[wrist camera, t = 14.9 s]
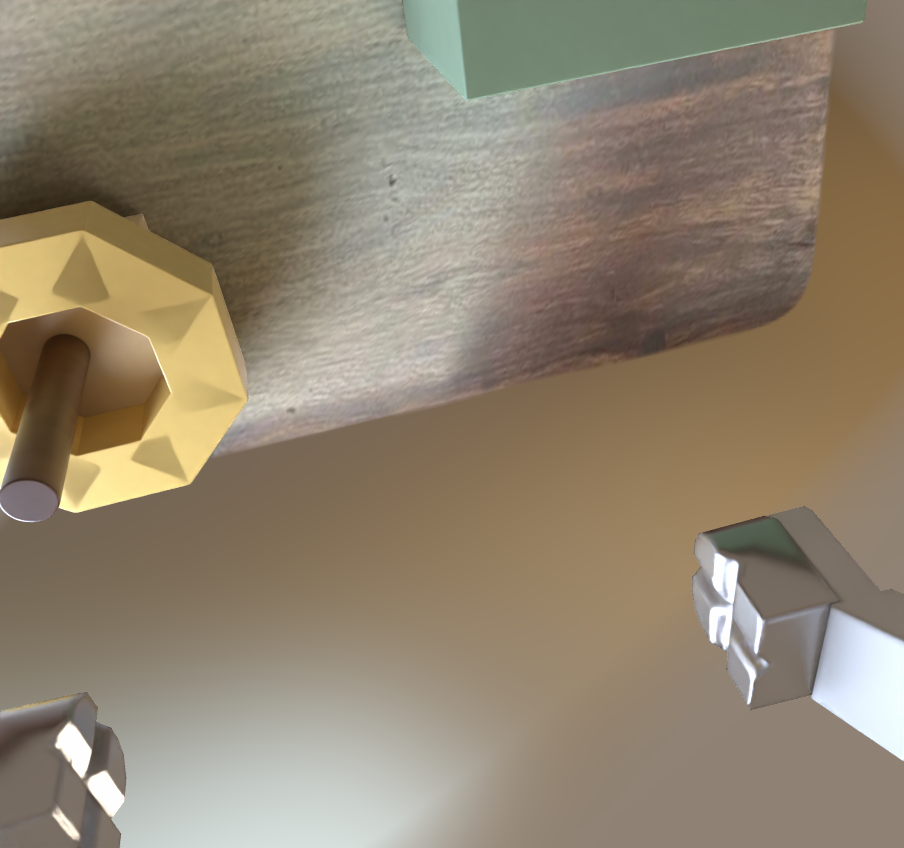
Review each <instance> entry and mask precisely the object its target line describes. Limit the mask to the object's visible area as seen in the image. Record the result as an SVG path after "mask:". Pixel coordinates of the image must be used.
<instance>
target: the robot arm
mask: <svg viewBox="0 0 904 848" xmlns="http://www.w3.org/2000/svg"><path fill="white" fill-rule="evenodd" d="M694 555H695V556H696V558H697V560H698V561H699V563H700V565H701V567H700V568H699V569H698V570H697V572H696V573H695V574H694V575H693V577H692V596H693V600H694V604H695V609H696V613H697V616H698V618H699V620H700V623H701V625H702V627H703V629H704V631H705V633H706V635H707V636H708V638H709V640H710V642H711V643H713V644H714V645H716V646H718V647H720V648H722V649H723V650H725V651H727V652H728V659H727V668H726V669H727V671H728V673H729V674H730V676H731V678H732V679H733V681H734V683H735V685H736V686H737V688H738V690H739V691H740V693H741V695H742V696H743V698H744V699H745V701H746V703H747V705H748V707H749V708H750V710H753V709H757V708H761V707H765V706H769V705H773V704H777V703H781V702H785V701H789V700H793V699H797V698H801V697H805V696H809V695H812V699H813V700H815V701H816V702H818V703H819V704H821V705H822V706H824V707H825V708H827V709H828V710H830V711H831V712H832V713H834V714H835V715H837V716H838V717H840V718H841V719H843V720H844V721H846V722H847V723H849V724H850V725H852V726H853V727H854V728H856V729H857V730H859V731H861V732H862V733H863V734H865V735H866V736H868V737H869V738H871V739H872V740H874V741H875V742H876V743H878V744H879V745H881V746H882V747H884V748H885V749H887V750H888V751H890V752H891V753H893V754H894V755H896V756H897V757H898V758H900V759H901V760H903V761H904V594H902V593H900V592H897V591H895V590H893V589H889V590H884V591H880V590H879V588H878V587H877V586H876V585H875V584H874V583H873V581H872V580H871V579H870V578H869V577H868V576H867V574H866V573H865V572H864V571H863V570H862V568H861V567H860V566H859V565H858V564H857V562H856V561H855V560H854V559H853V558H852V557H851V555H850V554H849V553H848V552H847V551H846V550H845V548H844V547H843V546H842V545H841V544H840V543H839V541H838V540H837V539H836V538H835V537H834V536H833V534H832V533H831V532H830V531H829V530H828V528H827V527H826V526H825V525H824V524H823V523H822V521H821V520H820V519H819V518H818V517H817V515H816V514H815V513H814V512H813V511H812V510H810V509H809V508H807V507H805V506H803V507H799V508H795V509H791V510H787V511H783V512H780V513H776V514H772V515H769V516H762V517H758V518H755V519H751V520H747V521H743V522H740V523H736V524H732V525H729V526H725V527H721V528H718V529H714V530H710V531H706V532H703V533H699V534H698V536H697V538H696V539H695V545H694ZM97 710H98V707H97V705H96V704H95V703H94V701H93V700H92V699H91V697H90V696H89V694H88V693H87V692H84V693H77V694H73V695H68V696H64V697H60V698H55V699H51V700H47V701H43V702H38V703H34V704H29V705H25V706H20V707H16V708H12V709H7V710H4V711H0V848H119V847H120V839H121V833H120V832H119V830H118V829H117V827H116V826H115V824H114V823H113V822H112V820H111V818H112V817H113V816H114V814H115V813H116V811H117V810H118V808H119V807H120V806H121V804H122V803H123V801H124V800H125V787H126V772H125V762H124V754H123V751H122V749H121V746H120V743H119V740H118V738H117V736H116V735H115V733H114V732H113V730H112V728H110V727H108V726H105V725H102V724H100V723H97V722H96V718H97Z"/></svg>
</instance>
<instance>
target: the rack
mask: <svg viewBox="0 0 904 848" xmlns="http://www.w3.org/2000/svg"><path fill="white" fill-rule="evenodd" d="M123 218H125V219H127V220H129V221H131V222H133V223H135V224H137V225H139V226H141V227H143V228H144V229H146V230H148V227H147V224H146V221H145V219H144V216H143V215H142V214H138V215H133V216H128V217H123ZM148 231H149V230H148ZM0 352H1V354H2V356H3V358H4V360H5V361H6V363H7V365H8V367H9V369H10V371H11V373H12V374H13V376H14V378H15V380H16V382H17V384H18V386H19V388H20V389H21V391H22V393H23V394H25V395H28V398H27V402H26V405H25V408H24V412H23V415H22V418H21V422H20V425H19V428H18V432H17V435H16V438H15V441H14V445H13V448H12V451H11V455H10V458H9V461H8V465H7V468H6V471H5V475H4V478H3V481H2V485H1V488H0V507H1V508H2V510H3V511H4V512H5V513H6V514H7V515H9V516H10V517H13V518H14V519H17V520H20V521H26V522H36V521H41V520H45V519H47V518H49V517H51V516H52V515H53V514H54V513H55V512H56V511H57V510H58V508H59V506H60V501H61V497H62V492H63V487H64V482H65V477H66V473H67V468H68V463H69V458H70V453H71V449H72V444H73V439H74V434H75V429H76V425H77V420H78V415H79V416H81V417H84V418H85V417H89V416H93V415H97V414H102V413H106V412H110V411H114V410H118V409H123V408H127V407H131V406H135V405H139V404H143V403H145V402H146V400H147V399H148V397H149V395H150V394H151V392H152V391H153V389H154V387H155V386H156V384H157V383H158V381H159V379H160V378H161V376H162V375H163V372H162V370H161V367H160V365H159V362H158V360H157V358H156V355H155V353H154V350H153V348H152V345H151V343H150V340H149V338H148V337H146V336H144V335H142V334H140V333H137V332H135V331H133V330H131V329H129V328H126V327H124V326H122V325H120V324H118V323H116V322H113V321H111V320H109V319H107V318H105V317H102V316H100V315H98V314H96V313H94V312H91V311H89V310H87V309H85V308H83V307H77V308H73V309H68V310H64V311H59V312H55V313H51V314H46V315H42V316H37V317H33V318H28V319H24V320H19V321H15V322H11V323H8V325H7V327H6V329H5V331H4V333H3V335H2V337H1V339H0Z"/></svg>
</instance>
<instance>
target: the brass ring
mask: <svg viewBox="0 0 904 848" xmlns="http://www.w3.org/2000/svg"><path fill="white" fill-rule="evenodd" d="M77 307H83V308H85V309H87V310H89V311H91V312H94V313H96V314H98V315H100V316H102V317H105V318H107V319H109V320H111V321H113V322H116V323H118V324H120V325H122V326H124V327H126V328H129V329H131V330H133V331H135V332H137V333H140V334H142V335H144V336H146V337H148V338H149V340H150V343H151V345H152V348H153V350H154V353H155V355H156V358H157V360H158V362H159V365H160V367H161V370H162V372H163V375H162V376H161V378H160V379H159V381H158V383H157V384H156V386H155V387H154V389H153V391H152V392H151V394H150V395H149V397H148V399H147V400H146V402H145V403H143V404H139V405H135V406H131V407H127V408H123V409H118V410H114V411H110V412H106V413H102V414H97V415H93V416H89V417H85V418H84V417H81V416H79V415H78V420H77V425H76V429H75V434H74V439H73V444H72V449H71V453H70V458H69V463H68V468H67V473H66V477H65V482H64V487H63V492H62V497H61V501H60V506H59V508H62V509H65V510H68V511H71V512H75V513H77V512H81V511H85V510H89V509H93V508H97V507H101V506H105V505H109V504H113V503H117V502H121V501H125V500H128V499H133V498H137V497H141V496H145V495H148V494H153V493H157V492H161V491H165V490H168V489H173V488H177V487H181V486H184V485H188V484H190V483H192V481H193V480H194V478H195V477H196V475H197V474H198V473H199V471H200V470H201V468H202V467H203V465H204V464H205V462H206V461H207V459H208V458H209V456H210V455H211V454H212V452H213V451H214V449H215V448H216V446H217V445H218V443H219V442H220V440H221V439H222V437H223V436H224V435H225V433H226V432H227V430H228V429H229V427H230V426H231V424H232V423H233V421H234V420H235V418H236V417H237V416H238V414H239V413H240V411H241V410H242V408H243V407H244V405H245V404H246V402H247V401H248V387H247V374H246V364H245V361H244V358H243V355H242V352H241V349H240V346H239V343H238V340H237V337H236V334H235V331H234V328H233V325H232V322H231V319H230V316H229V313H228V310H227V307H226V304H225V301H224V298H223V295H222V292H221V289H220V286H219V283H218V280H217V277H216V274H215V271H214V268H213V265H212V264H211V263H209V262H207V261H206V260H204V259H202V258H200V257H198V256H196V255H194V254H192V253H190V252H188V251H186V250H185V249H183V248H181V247H179V246H177V245H175V244H173V243H171V242H169V241H167V240H165V239H164V238H162V237H160V236H158V235H156V234H154V233H152V232H150V231H148V230H146V229H144V228H143V227H141V226H139V225H137V224H135V223H133V222H131V221H129V220H127V219H125V218H123V217H122V216H120V215H118V214H116V213H114V212H112V211H110V210H108V209H106V208H104V207H102V206H101V205H99V204H97V203H95V202H93V201H86V202H82V203H77V204H72V205H67V206H63V207H58V208H53V209H49V210H44V211H39V212H34V213H30V214H25V215H20V216H16V217H11V218H6V219H2V220H0V339H1V337H2V335H3V333H4V331H5V329H6V327H7V325H8V323H11V322H15V321H19V320H24V319H28V318H33V317H37V316H42V315H46V314H51V313H55V312H59V311H64V310H68V309H73V308H77ZM27 398H28V395H25V394H23V393H22V391H21V389H20V388H19V386H18V384H17V382H16V380H15V378H14V376H13V374H12V373H11V371H10V369H9V367H8V365H7V363H6V361H5V360H4V358H3V356H2V354H1V352H0V488H1V485H2V481H3V478H4V475H5V471H6V468H7V465H8V461H9V458H10V455H11V451H12V448H13V445H14V441H15V438H16V435H17V432H18V428H19V425H20V422H21V418H22V415H23V412H24V408H25V405H26V402H27Z"/></svg>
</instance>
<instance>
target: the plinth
mask: <svg viewBox="0 0 904 848" xmlns="http://www.w3.org/2000/svg"><path fill="white" fill-rule="evenodd" d="M403 6H404V13H405V20H406V27H407V34H408V38H409V39H410V40H411V41H412V43H413V44H414V45H415V46H416V47H417V48H418V49H419V50H420V51H421V52H422V53H423V54H424V55H425V57H426V58H427V59H428V60H429V61H430V62H431V63H432V64H433V65H434V66H435V67H436V68H437V70H438V71H439V72H440V73H441V74H442V75H443V76H444V77H445V78H446V79H447V80H448V81H449V83H450V84H451V85H452V86H453V87H454V88H455V89H456V90H457V91H458V92H459V93H460V94H461V96H462V97H463V98H464V99H465V100H473V99H479V98H484V97H489V96H494V95H499V94H504V93H509V92H514V91H519V90H524V89H529V88H534V87H539V86H544V85H549V84H554V83H559V82H564V81H570V80H575V79H580V78H585V77H590V76H595V75H600V74H605V73H610V72H615V71H620V70H625V69H630V68H635V67H640V66H645V65H650V64H655V63H661V62H666V61H671V60H676V59H681V58H686V57H691V56H696V55H701V54H706V53H711V52H716V51H721V50H726V49H731V48H736V47H741V46H746V45H752V44H757V43H762V42H767V41H772V40H777V39H782V38H787V37H792V36H797V35H802V34H807V33H812V32H817V31H822V30H827V29H832V28H837V27H842V26H848V25H852V24H858V23H862V22H863V21H864V19H865V12H866V6H867V0H403Z"/></svg>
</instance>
